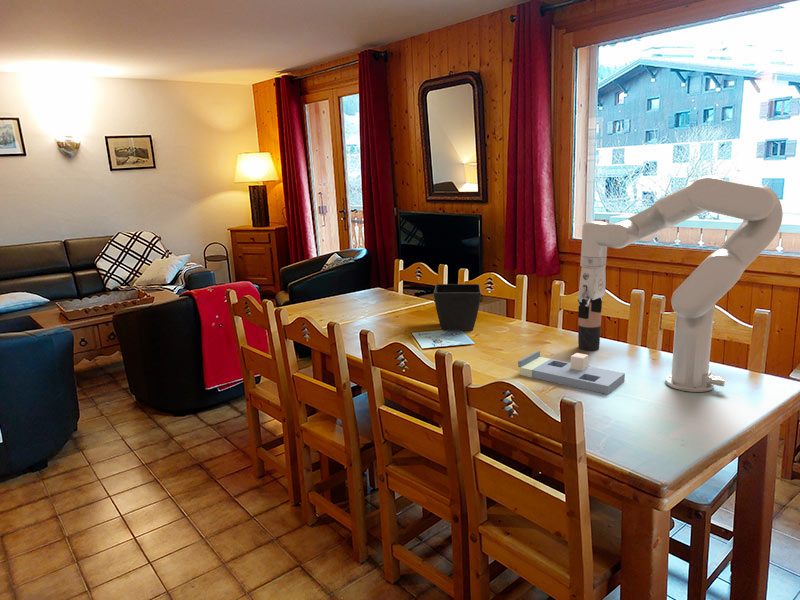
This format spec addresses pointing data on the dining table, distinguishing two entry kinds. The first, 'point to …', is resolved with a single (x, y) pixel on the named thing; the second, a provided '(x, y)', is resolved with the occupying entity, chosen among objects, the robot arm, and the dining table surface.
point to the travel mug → (589, 331)
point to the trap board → (570, 374)
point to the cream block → (579, 361)
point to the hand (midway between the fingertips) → (589, 315)
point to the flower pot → (457, 305)
